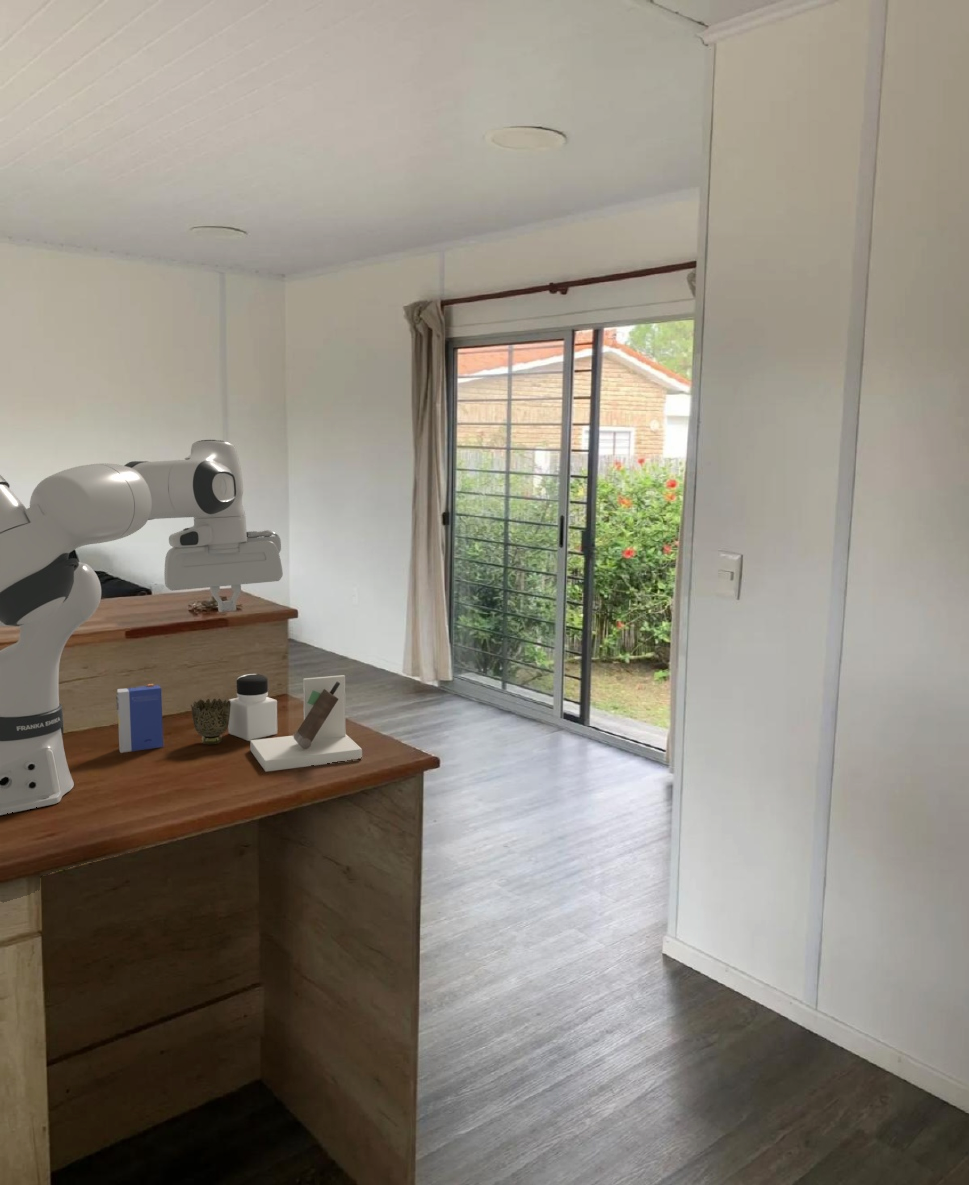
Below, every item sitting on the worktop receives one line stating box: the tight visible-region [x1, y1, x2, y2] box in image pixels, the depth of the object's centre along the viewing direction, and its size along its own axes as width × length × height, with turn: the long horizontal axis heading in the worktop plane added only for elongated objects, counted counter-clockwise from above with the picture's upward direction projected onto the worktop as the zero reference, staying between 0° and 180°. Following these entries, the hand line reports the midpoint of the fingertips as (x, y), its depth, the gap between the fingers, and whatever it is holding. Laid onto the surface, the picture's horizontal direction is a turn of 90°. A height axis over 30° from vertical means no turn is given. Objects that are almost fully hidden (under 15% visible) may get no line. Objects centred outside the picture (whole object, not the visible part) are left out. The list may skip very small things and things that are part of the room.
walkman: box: [115, 683, 164, 754], centre depth 184 cm, size 8×3×12 cm, turn 119°
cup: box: [190, 698, 231, 745], centre depth 188 cm, size 8×7×8 cm
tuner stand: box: [249, 674, 363, 772], centre depth 181 cm, size 18×13×14 cm
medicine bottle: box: [227, 673, 278, 742], centre depth 194 cm, size 7×7×12 cm
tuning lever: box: [293, 682, 340, 749], centre depth 181 cm, size 2×5×14 cm
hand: (227, 611), depth 172 cm, fingers closed
